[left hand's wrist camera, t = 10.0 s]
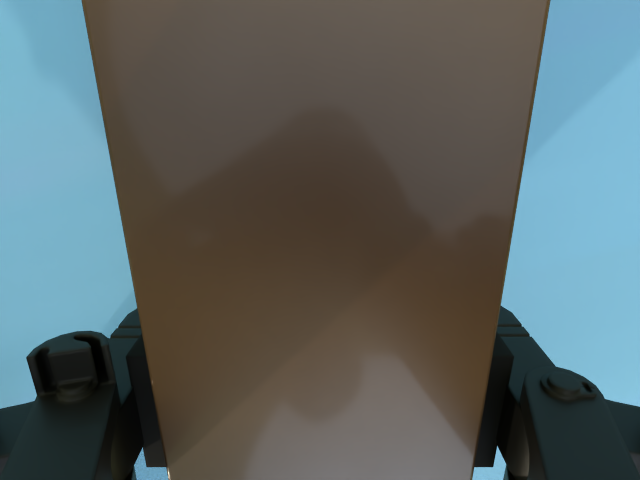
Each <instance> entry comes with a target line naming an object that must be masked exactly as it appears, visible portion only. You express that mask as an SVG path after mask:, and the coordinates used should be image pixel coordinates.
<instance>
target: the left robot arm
mask: <svg viewBox="0 0 640 480" xmlns="http://www.w3.org/2000/svg"><path fill="white" fill-rule="evenodd" d="M26 358H27V362H28V365H29V369H30V372H31V376H32V379H33V383H34V386H35V389H36V393H37V397H36V399H35V401H33V402H29V403H26V404H21V405H16V406H11V407H7V408H2V409H0V480H136V474H135V469H134V464H135V462H136V460H137V458H138V456H139V454H140V451H141V449H142V447H143V450H144V456H145V461H146V466H147V467H166V463H165V457H164V452H163V446H162V441H161V435H160V430H159V424H158V419H157V413H156V408H155V402H154V397H153V391H152V386H151V380H150V375H149V369H148V364H147V358H146V352H145V347H144V341H143V336H142V330H141V325H140V319H139V314H138V308H137V309H136V310H134V311H132V312H131V313H129V314H128V315H127V316H126V317H125V319H124V320H123V321H122V322H121V324H120V325H119V326H118V328H116V330H115V331H114V332H113V333H112V335H111V337H110V338H107V337H106V336H104V335H103V334H102V333H98V332H94V331H77V332H72V333H68V334H64V335H60V336H58V337H55V338H53V339H50V340H48V341H46V342H44V343H42V344H41V345H39V346H38V347H36V348H35V349H33V351H32V352H31V353H30V354H29V355H28V356H27V357H26ZM497 446H498V448H499V450H500V452H501V454H502V456H503V458H504V460H505V462H506V469H505V474H504V478H503V480H640V407H638V406H633V405H628V404H623V403H619V402H614V401H610V400H606V399H605V398H604V396H603V394H602V393H601V392H600V391H599V389H598V388H597V387H596V385H594V384H593V383H592V382H590V381H589V380H588V379H586V378H585V377H583V376H581V375H579V374H577V373H574V372H572V371H570V370H567V369H563V368H559V367H556V366H555V365H554V364H553V363H552V361H551V360H550V359H549V358H548V356H547V355H546V354H545V353H544V352H543V350H542V349H541V348H540V347H539V345H538V344H537V343H536V342H535V340H534V339H533V338H532V337H530V336H529V333H528V332H527V331H526V329H525V328H524V327H522V324H521V323H520V322H519V321H518V320H517V318H516V317H515V316H514V315H513V313H512V312H510V311H508V310H507V309H505V308H504V307H502V306H500V312H499V318H498V324H497V330H496V336H495V342H494V348H493V355H492V361H491V367H490V373H489V379H488V385H487V391H486V397H485V404H484V410H483V416H482V422H481V428H480V434H479V440H478V446H477V453H476V459H475V465H474V467H493V465H494V459H495V454H496V449H497Z"/></svg>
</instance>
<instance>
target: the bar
mask: <svg viewBox="0 0 640 480" xmlns="http://www.w3.org/2000/svg"><path fill="white" fill-rule="evenodd" d="M82 5H83V11H84V16H85V22H86V27H87V33H88V38H89V44H90V49H91V55H92V60H93V66H94V72H95V77H96V83H97V88H98V94H99V99H100V105H101V110H102V116H103V121H104V127H105V132H106V138H107V143H108V149H109V154H110V160H111V165H112V171H113V176H114V182H115V187H116V193H117V198H118V204H119V209H120V215H121V220H122V226H123V231H124V237H125V242H126V248H127V253H128V259H129V264H130V270H131V275H132V281H133V286H134V292H135V297H136V303H137V308H138V314H139V319H140V325H141V330H142V336H143V341H144V347H145V352H146V358H147V364H148V369H149V375H150V380H151V386H152V391H153V397H154V402H155V408H156V413H157V419H158V424H159V430H160V435H161V441H162V446H163V452H164V457H165V463H166V468H167V474H168V479H169V480H472V477H473V471H474V465H475V459H476V453H477V446H478V440H479V434H480V428H481V422H482V416H483V410H484V404H485V397H486V391H487V385H488V379H489V373H490V367H491V361H492V355H493V348H494V342H495V336H496V330H497V324H498V318H499V312H500V306H501V299H502V293H503V287H504V281H505V275H506V269H507V263H508V257H509V250H510V244H511V238H512V232H513V226H514V220H515V214H516V208H517V201H518V195H519V189H520V183H521V177H522V171H523V165H524V159H525V152H526V146H527V140H528V134H529V128H530V122H531V116H532V110H533V103H534V97H535V91H536V85H537V79H538V73H539V67H540V60H541V54H542V48H543V42H544V36H545V30H546V24H547V18H548V11H549V5H550V0H82Z"/></svg>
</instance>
